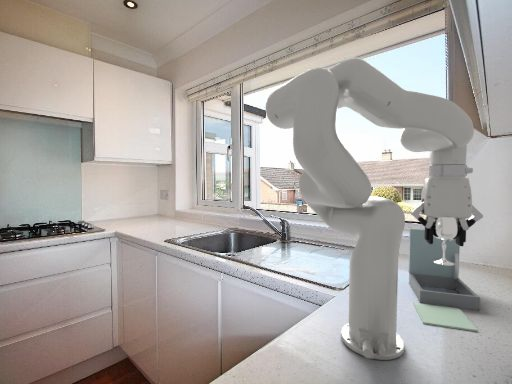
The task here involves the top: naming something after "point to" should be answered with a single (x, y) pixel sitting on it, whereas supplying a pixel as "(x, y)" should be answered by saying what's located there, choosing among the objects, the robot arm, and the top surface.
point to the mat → (443, 316)
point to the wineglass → (445, 234)
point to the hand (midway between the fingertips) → (444, 243)
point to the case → (437, 272)
